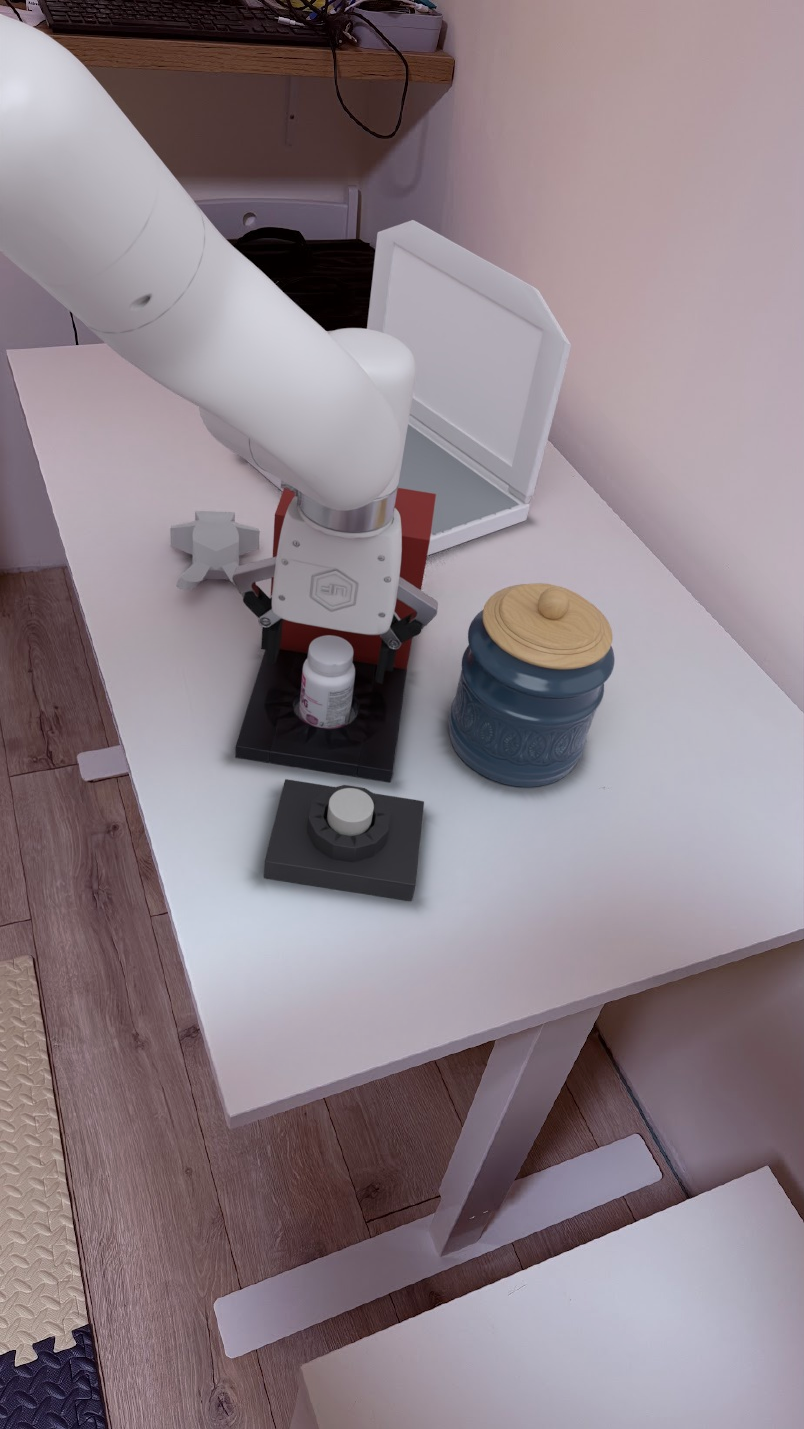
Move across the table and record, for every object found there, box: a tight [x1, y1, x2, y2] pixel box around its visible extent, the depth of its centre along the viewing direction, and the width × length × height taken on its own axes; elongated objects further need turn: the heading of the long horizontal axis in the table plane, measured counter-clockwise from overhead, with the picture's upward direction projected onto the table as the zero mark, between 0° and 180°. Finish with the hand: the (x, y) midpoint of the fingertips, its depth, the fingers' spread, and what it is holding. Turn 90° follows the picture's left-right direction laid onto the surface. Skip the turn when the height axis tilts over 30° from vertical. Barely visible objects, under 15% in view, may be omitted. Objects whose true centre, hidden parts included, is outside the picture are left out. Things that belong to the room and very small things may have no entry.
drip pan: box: [234, 649, 408, 783], centre depth 95 cm, size 14×14×2 cm
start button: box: [327, 788, 374, 836], centre depth 81 cm, size 4×4×2 cm
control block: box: [263, 778, 425, 902], centre depth 83 cm, size 12×9×4 cm
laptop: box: [247, 219, 572, 556], centre depth 118 cm, size 33×24×26 cm
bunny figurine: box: [169, 510, 261, 591], centre depth 108 cm, size 10×5×15 cm
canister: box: [448, 582, 615, 788], centre depth 90 cm, size 13×13×18 cm
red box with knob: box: [269, 488, 436, 670], centre depth 98 cm, size 14×9×16 cm, turn 84°
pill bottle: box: [298, 635, 355, 729], centre depth 92 cm, size 5×5×8 cm
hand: (327, 664), depth 90 cm, fingers open, 9 cm apart
